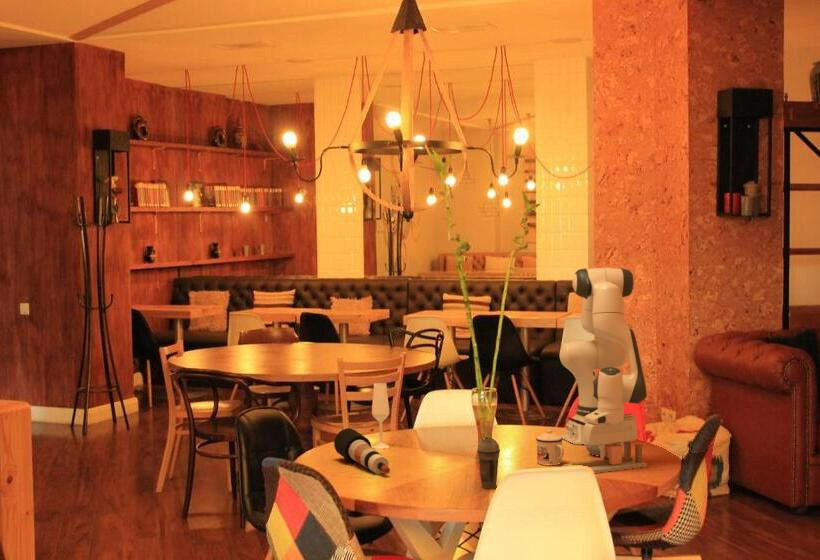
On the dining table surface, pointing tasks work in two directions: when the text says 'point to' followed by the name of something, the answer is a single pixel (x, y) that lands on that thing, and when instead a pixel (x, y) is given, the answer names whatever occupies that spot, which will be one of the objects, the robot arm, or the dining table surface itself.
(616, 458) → the block
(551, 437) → the teacup with lid
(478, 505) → the dining table surface
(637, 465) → the rail board
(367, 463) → the cable
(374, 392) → the champagne flute
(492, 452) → the beverage cup
